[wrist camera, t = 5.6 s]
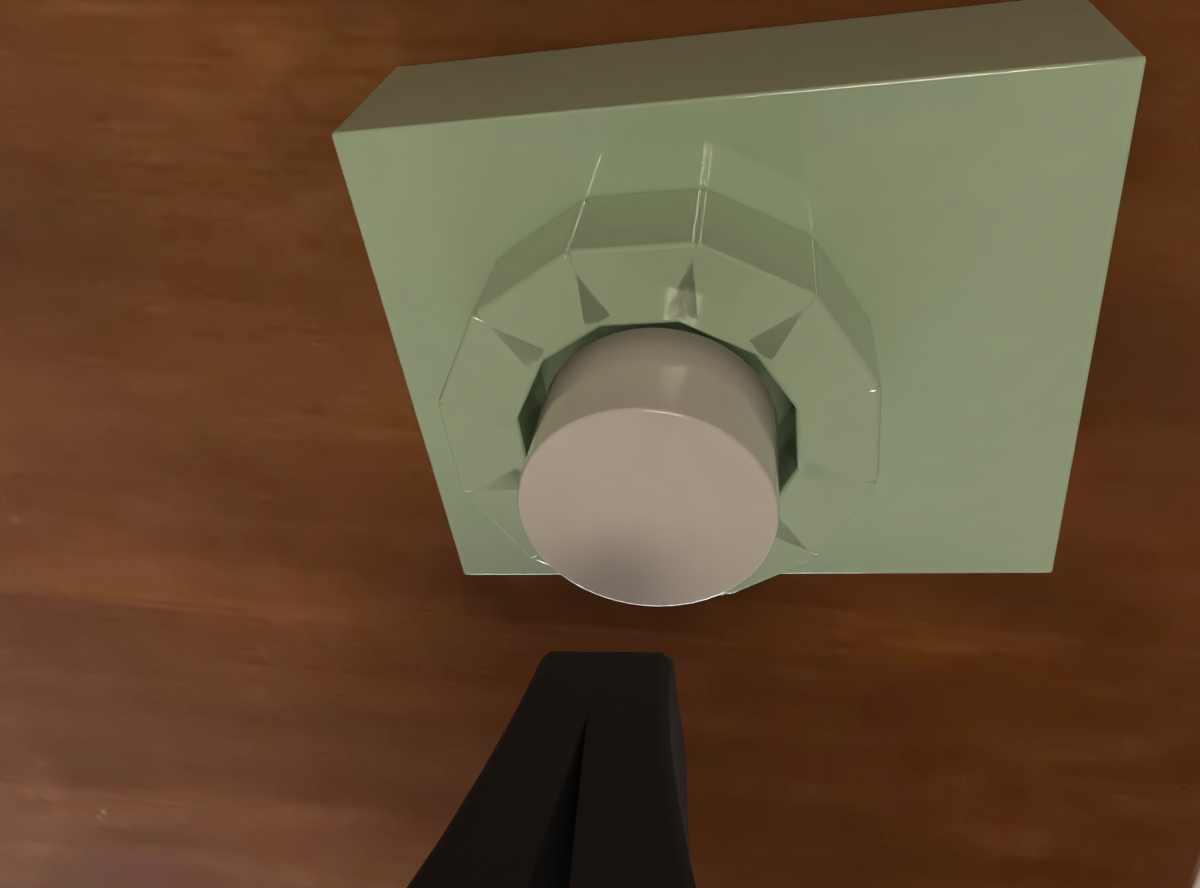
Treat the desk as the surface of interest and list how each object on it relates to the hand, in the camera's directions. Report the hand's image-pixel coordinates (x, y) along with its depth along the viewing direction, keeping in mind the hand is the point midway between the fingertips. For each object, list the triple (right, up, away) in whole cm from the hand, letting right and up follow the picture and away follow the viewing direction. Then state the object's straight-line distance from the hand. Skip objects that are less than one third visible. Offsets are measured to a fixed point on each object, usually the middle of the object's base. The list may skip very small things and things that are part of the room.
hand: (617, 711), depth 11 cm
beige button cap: (+1, +3, +4) cm, 5 cm away
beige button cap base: (+2, +6, +8) cm, 10 cm away
